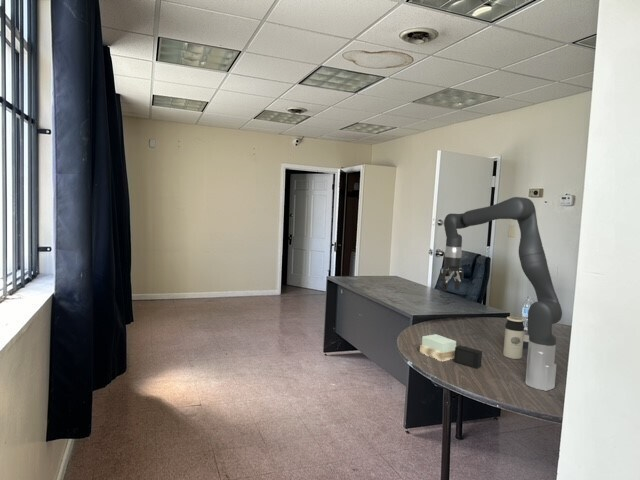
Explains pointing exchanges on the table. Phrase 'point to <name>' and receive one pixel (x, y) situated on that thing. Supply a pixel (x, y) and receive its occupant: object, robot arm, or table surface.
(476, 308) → the table surface
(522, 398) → the table surface
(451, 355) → the block bottom
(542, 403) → the table surface
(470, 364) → the digital camera
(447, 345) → the block top
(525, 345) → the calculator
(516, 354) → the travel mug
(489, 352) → the table surface
